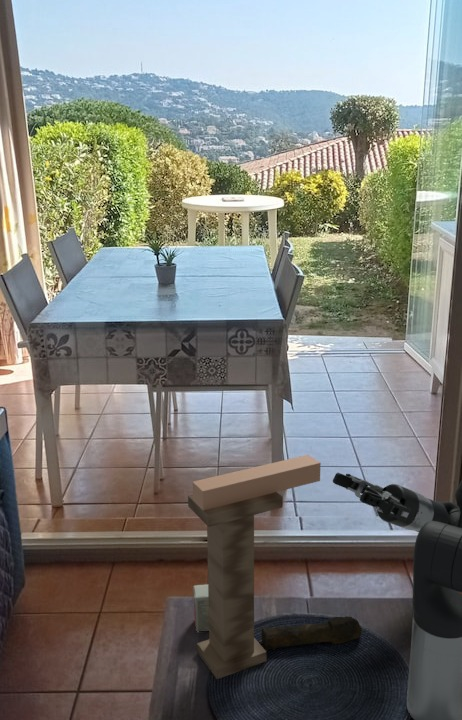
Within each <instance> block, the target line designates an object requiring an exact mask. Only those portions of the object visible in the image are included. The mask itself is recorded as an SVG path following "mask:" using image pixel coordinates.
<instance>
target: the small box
mask: <svg viewBox="0 0 462 720" xmlns="http://www.w3.org/2000/svg"><path fill="white" fill-rule="evenodd" d="M193 606H194V607H193V609H194V612H193V613H194V614H193V615H194V626H195V627H196V628H195V632H196V631H209V599H208V583H205V584H197V585H196V584H195V585H193Z"/></svg>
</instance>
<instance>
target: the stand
mask: <svg viewBox="0 0 462 720" xmlns="http://www.w3.org/2000/svg"><path fill="white" fill-rule="evenodd" d="M283 499H284V498H283V495H281V494H280V493H278V492H275V493H271V494H267V495H263V496H259V497H255V498H251V499H247V500H243V501H239V502H235V503H231V504H227V505H223V506H220V507H216V508H212V509H208V510H204V511H203V510H202V509H201V508H200V507H199V506H198V505H197V504H196V503H195V502H194V501H193V494H191V495H189V494H188V495H187V505H188V508H189V509H190V510H191V512H193V513H194V514H195V515H196V516H197V517H198V518H199V519H200V520H201V521H202V522H203V523H204V525H206V536H207V537H206V539H207V540H206V541H207V584H208V599H209V632H208V636H209V637H208V639H206V640H205V639H204V640H203V641H200V642H197V643H196V647H197V649H196V650H197V652H198V653H199V654H198V653H197V654H198V655H199V657H200V656H201V657H200V658H201V659H202V661H203V662H204V663H205V665H206V667H207V666H208V667H207V668H208V669H209V671H210V670H211V671H210V672H211V674H212V675H213V676H214V677H215V679H216V680H219V679H222V678H225V677H227V676H230V675H233V674H235V673H238V672H240V671H243V670H246V669H249V668H251V667H255V666H257V665H260V664H262V663H265V662H267V652H268V651H265V649H264V648H263V645H261V644H260V643H259V641H258V640H257V639H256V638H255V515H258V514H263V513H267V512H269V511H270V512H271V511H274V510H277V509H281V508H283V505H284V504H283Z"/></svg>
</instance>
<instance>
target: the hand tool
mask: <svg viewBox="0 0 462 720" xmlns="http://www.w3.org/2000/svg"><path fill="white" fill-rule="evenodd" d="M361 636H362V626H361V625H360V623H359V620H357V619H356V618H354V617H352V616H349V615H348V616H333V617H330V618H329V619H328V621H325V622H320V623H308V624H300V625H291V626H282V627H272V628H271V627H270V628H269V627H268V628H267V627H264V626H262V627H261V643H262V647H263V648H264V649H265V651H266V652H268V651H269V650H272V651H275V650H276V649H278V648H279V649H280V648H287V647H293V646H303V645H311V644H318V643H319V644H320V643H329V642H330V643H331V644H333V645H337V644H342V643H346V642H350V641H353V640H356V639H358V638H361Z"/></svg>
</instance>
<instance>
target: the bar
mask: <svg viewBox="0 0 462 720" xmlns="http://www.w3.org/2000/svg"><path fill="white" fill-rule="evenodd" d="M321 466H322V465H321V462H320V461H318V460H317V459H316V458H314V457H312V456H311V455H309V454H305V455H302V456H298V457H297V456H295V457H292V458H289V459H284V460H279V461H276V462H270V463H266V464H263V465H262V464H261V465H259V466H254V467H250V468H245V469H241V470H237V471H234V472H233V471H232V472H229V473H223V474H219V475H215V476H211V477H207V478H203V479H198V480H194V481H192V482H191V483H192V484H191V485H192V495H193V501H194V502H195V503H196V504H197V505H198V506H199V507H200V508H201V509H202V510H203V511H204V510H208V509H212V508H216V507H220V506H223V505H227V504H231V503H235V502H239V501H243V500H247V499H251V498H255V497H259V496H263V495H267V494H271V493H275V492H277V493H278V492H281V491H282V492H283V491H286V490H290V489H293V488H297V487H301V486H305V485H309V484H313V483H317V482H320V481H321Z"/></svg>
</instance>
